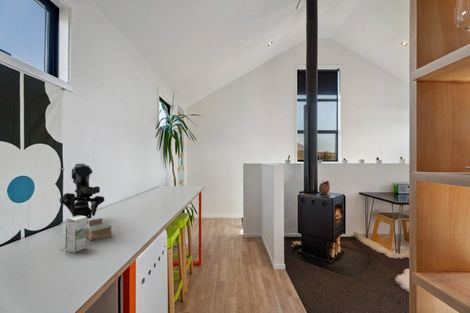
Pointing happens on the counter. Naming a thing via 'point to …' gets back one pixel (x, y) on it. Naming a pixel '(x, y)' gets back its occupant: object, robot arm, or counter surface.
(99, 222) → the lid
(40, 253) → the counter surface
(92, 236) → the toolbox
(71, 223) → the syrup box
